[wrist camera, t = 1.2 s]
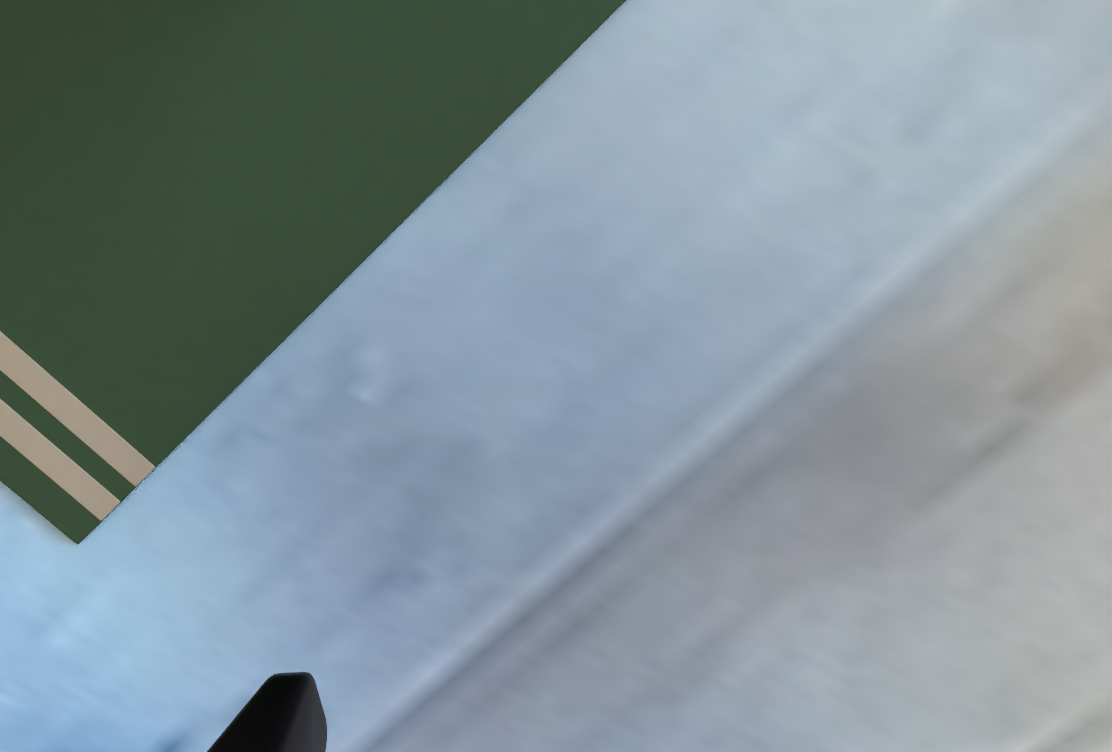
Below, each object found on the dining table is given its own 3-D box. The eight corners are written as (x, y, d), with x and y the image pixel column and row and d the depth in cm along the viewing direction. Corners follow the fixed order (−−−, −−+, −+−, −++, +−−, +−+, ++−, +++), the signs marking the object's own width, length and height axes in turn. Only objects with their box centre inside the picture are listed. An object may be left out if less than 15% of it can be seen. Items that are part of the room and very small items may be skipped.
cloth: (81, 541, 22) (76, 545, 22) (-328, 200, 19) (-338, 200, 19) (656, -32, 18) (658, -34, 18) (233, -547, 16) (228, -556, 15)
